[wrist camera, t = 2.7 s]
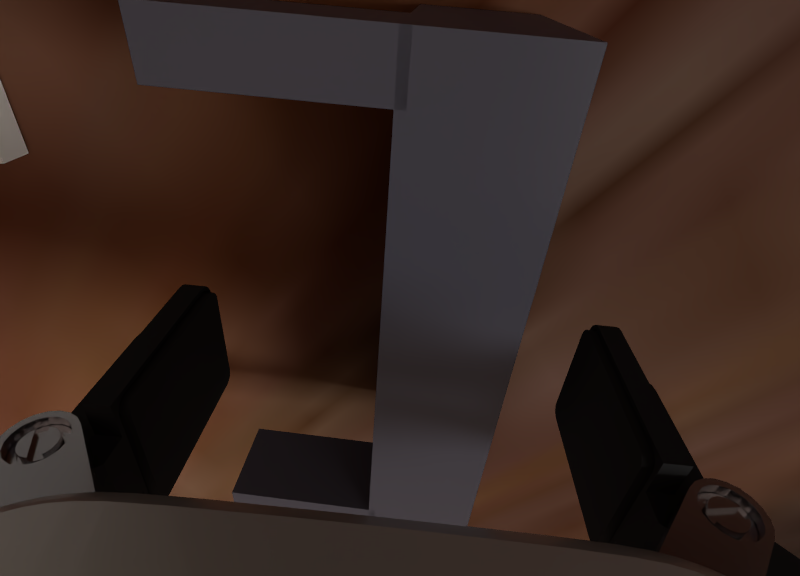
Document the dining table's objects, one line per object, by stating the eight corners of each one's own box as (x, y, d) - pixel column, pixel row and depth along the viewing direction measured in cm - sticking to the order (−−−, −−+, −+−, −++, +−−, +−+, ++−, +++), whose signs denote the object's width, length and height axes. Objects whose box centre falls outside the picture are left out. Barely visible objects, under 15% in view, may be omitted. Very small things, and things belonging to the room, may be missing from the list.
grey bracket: (540, 14, 12) (608, 42, 7) (459, 398, 19) (462, 543, 14) (257, -12, 12) (117, -3, 7) (290, 378, 20) (237, 513, 15)
